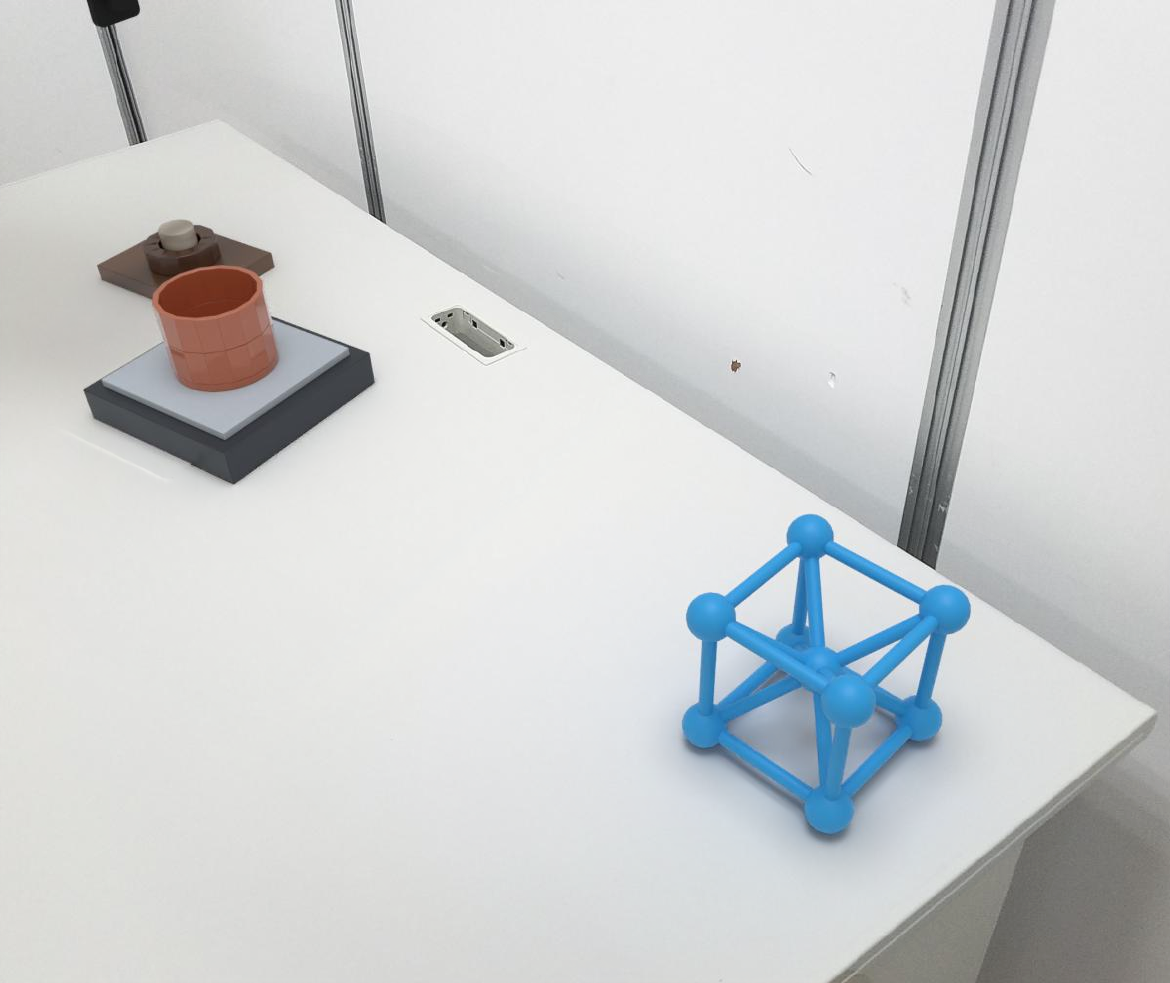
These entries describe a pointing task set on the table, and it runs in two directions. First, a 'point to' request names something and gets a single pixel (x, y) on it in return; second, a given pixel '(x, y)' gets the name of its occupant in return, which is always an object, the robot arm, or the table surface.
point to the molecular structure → (822, 670)
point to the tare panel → (179, 261)
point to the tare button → (177, 235)
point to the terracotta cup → (216, 327)
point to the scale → (233, 402)
